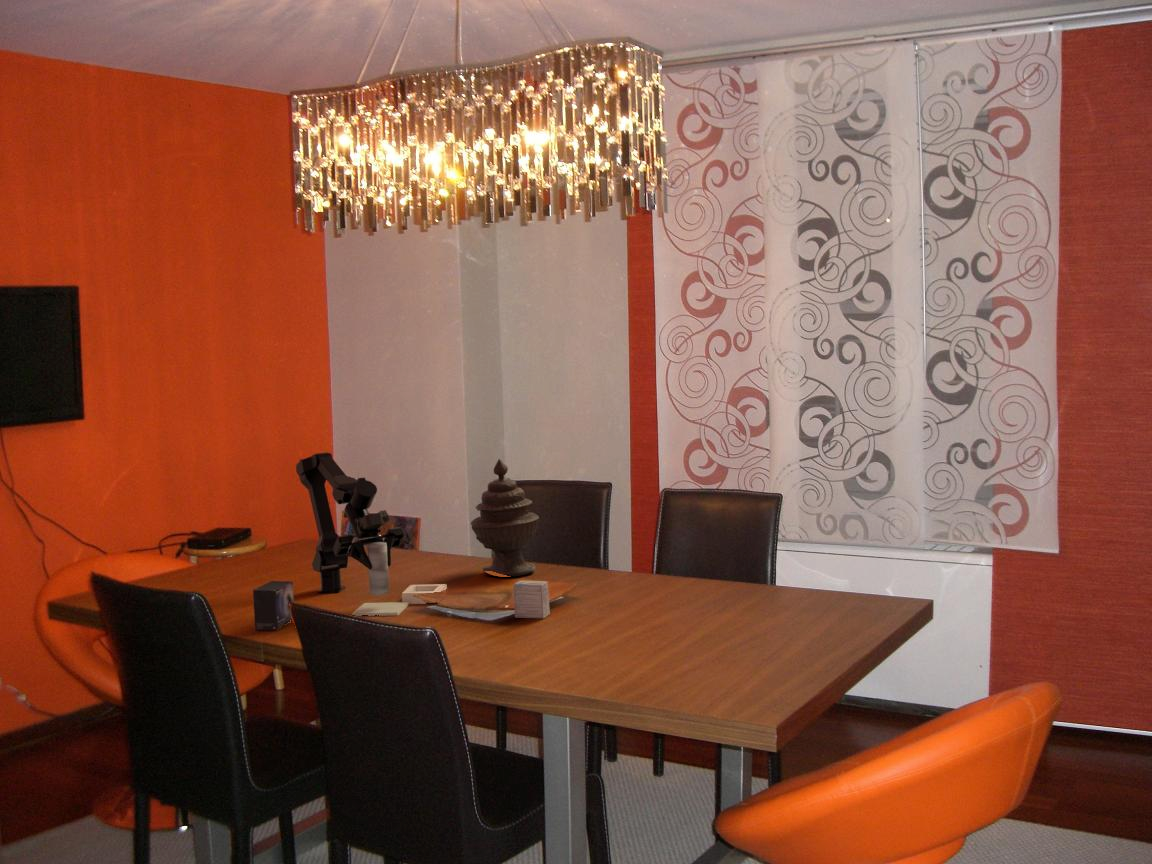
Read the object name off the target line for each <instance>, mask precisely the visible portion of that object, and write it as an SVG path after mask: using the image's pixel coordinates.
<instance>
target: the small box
mask: <svg viewBox="0 0 1152 864" xmlns="http://www.w3.org/2000/svg"><path fill="white" fill-rule="evenodd" d="M252 595H253V596H252V597H253V614H254V615H253V616H254V631H269V630H277V629H279V628H280V627H282V626H284V625H285V624H287V623H288V622H290V620H291V623H293V622H292V618H291V613H290V606H289V603H290V601H294V602H295V599H294V597H295V595H294V581H285V580H283V581H282V580H271V581H269V582H266V583H265V584H262V585H260V586H258V587H255V588H254V589H252ZM284 627H285V626H284ZM282 628H283V627H282ZM279 630H280V629H279ZM277 631H278V630H277Z"/></svg>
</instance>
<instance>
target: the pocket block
mask: <svg viewBox="0 0 1152 864" xmlns="http://www.w3.org/2000/svg"><path fill="white" fill-rule="evenodd" d="M446 589H447V590H448V587H447V583H443V584H442V583H440V584H439V583H438V584H434V583H432V584H431V583H429V584H427V583H426V584H410V585H409V586H408V587H407V588H405V590H404V591H403V592H402V593H401V602H408V604H409V605H427V604H426V603H425V602H424V601H423V600H422V599H420V598H417V597H414V596H413V595H418V594H426V593H434V592H441V591H443V590H446Z"/></svg>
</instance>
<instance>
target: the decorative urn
mask: <svg viewBox="0 0 1152 864" xmlns="http://www.w3.org/2000/svg"><path fill="white" fill-rule="evenodd" d="M508 469H509V468H508V466H507V465H506V464H505V463H504V462H503V461H502V460H501V459H500V458H498V460H497V462H496V464H495V465H494V468H493V473H494V475H496V476H498V477H497V479H494V480H493V481H490V482H489V483H488V484H487V490H485V491H483V492H482V494H481V502H480V503H478V504H477V505H476V506H475V509H476V510H477V511H478V512H479V514H480V515H479V516H477V517H476V518H474V519H473V520H471V521H470V525H471V529H472V531H473V533H474V534H475V539H476V540H477V541H479V543H480V544H482V545H483V547H484V548H485V549H487V550H491V551H492V552H494V554H493V558H492V563H491V565H489V566H488V565H487V566H485V567H483V568H482V571H483V572H484V571H493V572H496V573H499V574H503V575H507V576H513V577H512V578H514V577H519V576H525V575H528V574H531V573H532V572H534V571H535V570H536V569H537V566H536V565H535V564H534V563H532V562H531V563H530V562H526V561H525V558H524V555H523V553H522V551H521V550H522V549H524V548H526V547H527V546H529V545H530V542H531V541H532V539H533V538H534V537H535V535H537V530H538V527H539V522H540V521H539V519H540V517H539V515H538V514H536V513H534V512H529V506H530V505H531V504H533V501H532V500H531V499H529V498H526V493H525V491H524V489H522V488H520V487H518V485H517V481H516V480H514V479H511V478H510V477H509V478H508V477H505V476H506V474H507V473H508Z"/></svg>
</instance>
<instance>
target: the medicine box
mask: <svg viewBox="0 0 1152 864" xmlns="http://www.w3.org/2000/svg"><path fill="white" fill-rule="evenodd" d="M512 588H513V601H514V603H513V604H514V617H515V619H516V618H517V619H518V618H520V619H521V618H522V619H523V618H524V619H545V618H547V617H548V616H549V615H550V614H551V610H550V598H549V597H550V595H549V582H548V581H547V580H546V581H544V580H518V581H517V582H515V583H514V584H513V585H512Z"/></svg>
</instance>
